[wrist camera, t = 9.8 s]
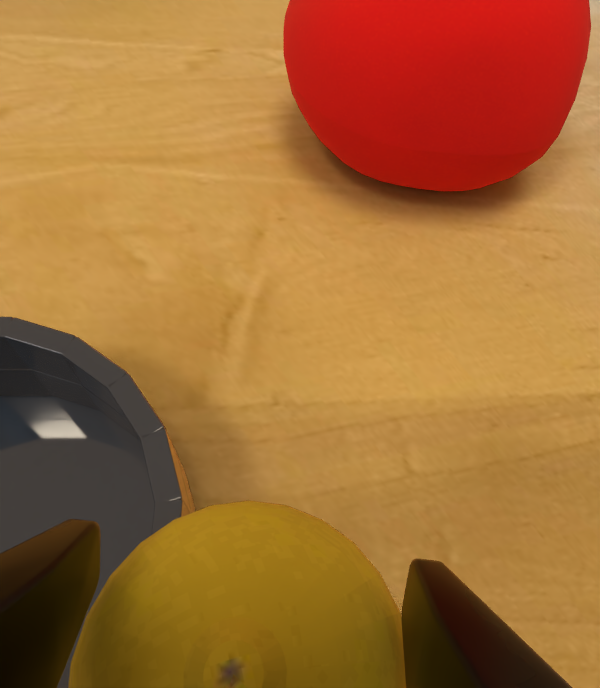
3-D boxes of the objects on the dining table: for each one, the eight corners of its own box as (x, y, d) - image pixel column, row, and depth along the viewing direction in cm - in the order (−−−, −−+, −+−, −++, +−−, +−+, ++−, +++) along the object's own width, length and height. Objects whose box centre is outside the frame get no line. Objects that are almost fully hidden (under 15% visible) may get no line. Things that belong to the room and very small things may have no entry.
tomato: (456, 282, 28) (561, 65, 18) (243, 145, 31) (230, -96, 21) (571, 147, 32) (704, -82, 22) (375, 43, 36) (414, -192, 26)
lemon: (270, 502, 15) (270, 363, 8) (421, 688, 13) (584, 707, 6) (84, 656, 13) (-119, 641, 6) (229, 899, 11) (162, 1259, 4)
